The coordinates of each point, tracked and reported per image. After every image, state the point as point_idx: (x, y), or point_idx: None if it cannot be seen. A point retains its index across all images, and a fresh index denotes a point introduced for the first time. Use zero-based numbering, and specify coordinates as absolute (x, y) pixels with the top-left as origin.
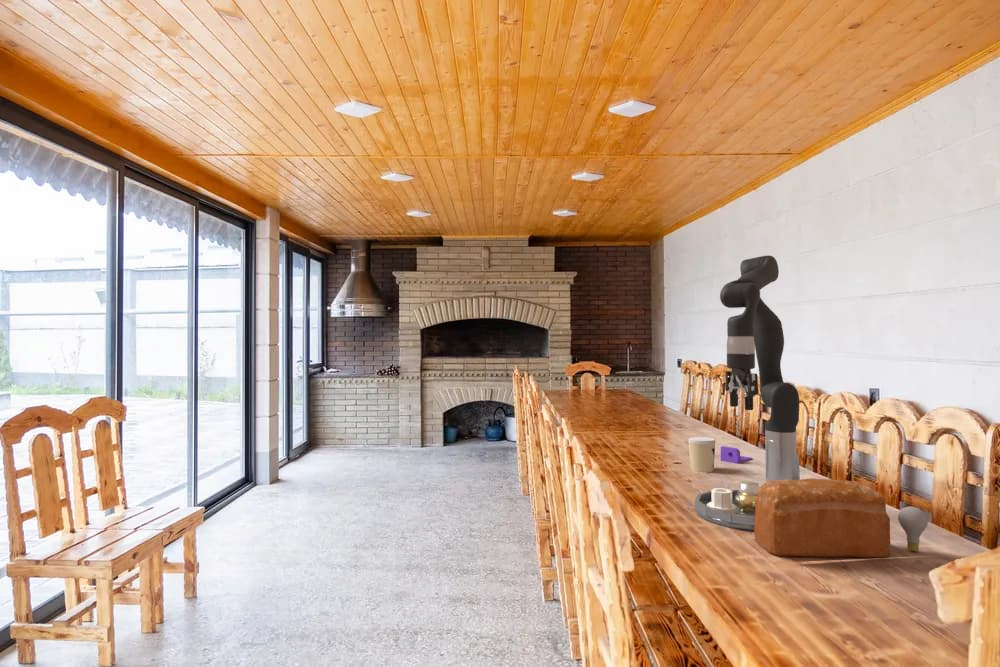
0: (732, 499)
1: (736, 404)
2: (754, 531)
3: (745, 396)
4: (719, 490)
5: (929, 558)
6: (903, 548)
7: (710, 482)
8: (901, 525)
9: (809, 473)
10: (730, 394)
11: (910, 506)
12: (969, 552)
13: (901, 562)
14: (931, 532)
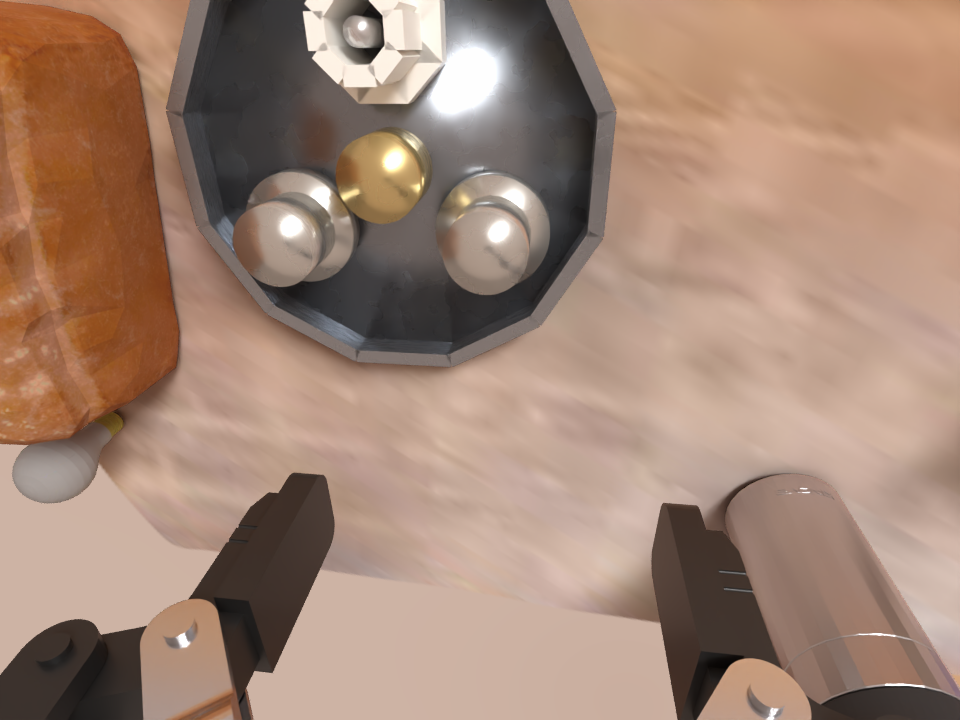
0: (555, 182)
1: (658, 569)
2: (92, 24)
3: (204, 602)
4: (386, 33)
5: None
6: (135, 412)
7: (947, 269)
8: None
9: None
10: (715, 646)
11: (36, 491)
12: (139, 509)
13: None
14: None
